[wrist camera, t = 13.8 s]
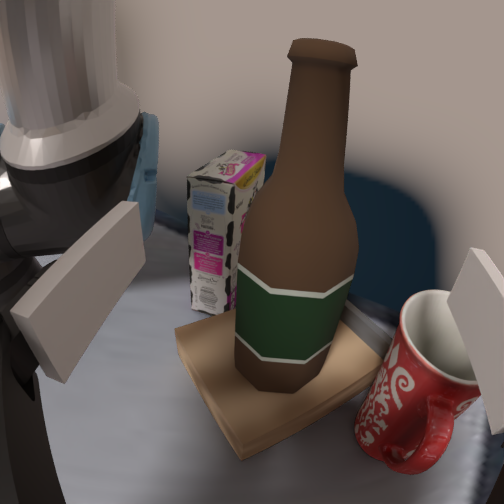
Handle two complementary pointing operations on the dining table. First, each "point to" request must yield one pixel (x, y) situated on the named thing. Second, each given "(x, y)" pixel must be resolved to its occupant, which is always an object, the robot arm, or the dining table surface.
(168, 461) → the dining table surface
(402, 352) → the mug
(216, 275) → the candy bar box
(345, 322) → the shelf step
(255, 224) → the beer bottle
